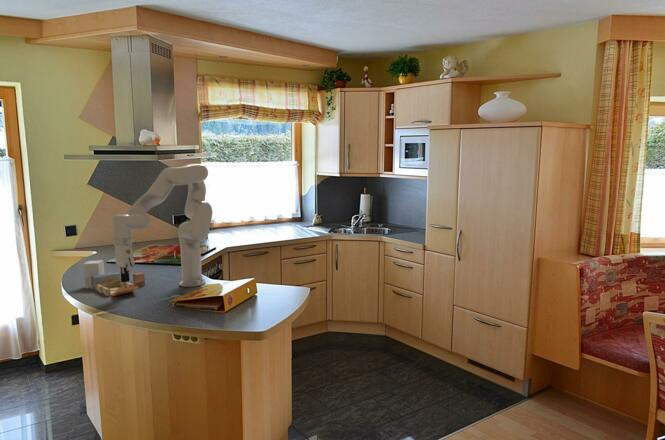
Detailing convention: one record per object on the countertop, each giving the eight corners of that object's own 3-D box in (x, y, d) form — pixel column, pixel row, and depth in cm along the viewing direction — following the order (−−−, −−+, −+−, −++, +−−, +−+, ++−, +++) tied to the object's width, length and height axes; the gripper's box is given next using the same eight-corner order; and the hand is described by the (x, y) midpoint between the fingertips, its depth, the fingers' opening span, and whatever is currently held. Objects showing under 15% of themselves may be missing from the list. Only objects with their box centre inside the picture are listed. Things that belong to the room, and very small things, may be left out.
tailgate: (132, 292, 236) (139, 287, 230) (111, 297, 229) (117, 292, 223) (131, 290, 236) (138, 285, 230) (110, 295, 229) (117, 289, 223)
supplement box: (106, 284, 254) (104, 260, 253) (99, 288, 247) (97, 263, 245) (91, 284, 254) (89, 260, 252) (84, 288, 247) (82, 263, 245)
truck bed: (134, 292, 237) (133, 278, 236) (108, 298, 229) (107, 283, 228) (116, 285, 252) (115, 271, 251) (91, 290, 243) (90, 276, 242)
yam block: (145, 287, 247) (144, 273, 246) (137, 289, 244) (136, 275, 243) (141, 286, 250) (140, 272, 249) (133, 287, 247) (132, 273, 246)
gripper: (138, 242, 223) (140, 282, 225) (124, 239, 233) (126, 277, 235) (121, 244, 217) (123, 286, 220) (107, 241, 228) (110, 280, 230)
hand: (125, 281), depth 227 cm, fingers closed
